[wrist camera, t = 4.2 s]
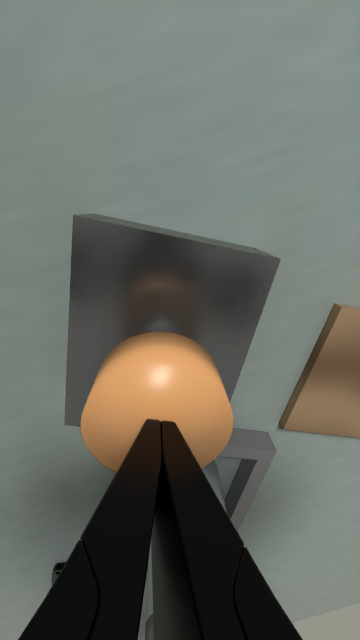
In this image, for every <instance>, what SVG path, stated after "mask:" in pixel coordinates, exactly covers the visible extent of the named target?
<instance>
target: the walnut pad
mask: <svg viewBox="0 0 360 640" xmlns="http://www.w3.org/2000/svg"><path fill="white" fill-rule="evenodd" d="M279 423H280V425H281V427H282V428H283V429H284V430H293V431H302V432H311V433H320V434H329V435H338V436H347V437H356V438H360V308H355V307H350V306H345V305H340V304H335V305H334V307H333V309H332V311H331V313H330V316H329V318H328V320H327V322H326V324H325V326H324V328H323V330H322V333H321V335H320V337H319V339H318V341H317V343H316V345H315V348H314V350H313V352H312V354H311V356H310V358H309V360H308V363H307V365H306V367H305V369H304V371H303V373H302V375H301V377H300V380H299V382H298V384H297V386H296V388H295V390H294V392H293V395H292V397H291V399H290V401H289V403H288V405H287V407H286V409H285V412H284V414H283V416H282V418H281V420H280V422H279Z"/></svg>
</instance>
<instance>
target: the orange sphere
mask: <svg viewBox="0 0 360 640" xmlns="http://www.w3.org/2000/svg"><path fill="white" fill-rule="evenodd" d="M146 419H156V420H160V422H161V421H162V420H165V421H173V422H175V423H176V425H177V426H178V428H179V430H180V432H181V433H182V435H183V437H184V439H185V440H186V442H187V444H188V446H189V448H190V449H191V451H192V453H193V455H194V456H195V458H196V460H197V462H198V463H199V465H200V467H201V468H203V467H205V466H206V465H208V464H209V463H211V462H212V461H213V460H214V459H215V458H216V457H218V455H219V454H220V453H221V452H222V451H223V450H224V448H225V446H226V445H227V443H228V441H229V439H230V437H231V433H232V430H233V414H232V409H231V406H230V403H229V400H228V397H227V394H226V391H225V389H224V386H223V383H222V380H221V377H220V374H219V371H218V368H217V366H216V364H215V361H214V360H213V358H212V356H211V355H210V354H209V353H208V351H207V350H206V349H205V348H203V347H202V346H201V345H200V344H198V343H197V342H195V341H194V340H192V339H190V338H188V337H185V336H182V335H179V334H175V333H170V332H149V333H143V334H139V335H136V336H133V337H131V338H128V339H126V340H125V341H123V342H121V343H120V344H118V345H117V346H116V347H114V348H113V349H112V350H111V351H110V352H109V353H108V355H107V356H106V357H105V359H104V361H103V362H102V364H101V366H100V369H99V371H98V374H97V376H96V379H95V382H94V384H93V387H92V389H91V392H90V394H89V397H88V399H87V402H86V404H85V407H84V410H83V412H82V417H81V433H82V437H83V440H84V443H85V445H86V447H87V448H88V450H89V451H90V453H91V454H92V455H93V456H94V457H95V458H96V459H97V460H98V461H99V462H100V463H101V464H103V465H104V466H106V467H107V468H109V469H111V470H112V471H114V472H117V471H118V469H119V467H120V465H121V464H122V462H123V460H124V458H125V456H126V455H127V453H128V451H129V449H130V447H131V446H132V444H133V442H134V440H135V438H136V437H137V435H138V433H139V431H140V430H141V428H142V426H143V424H144V422H145V421H146Z"/></svg>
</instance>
